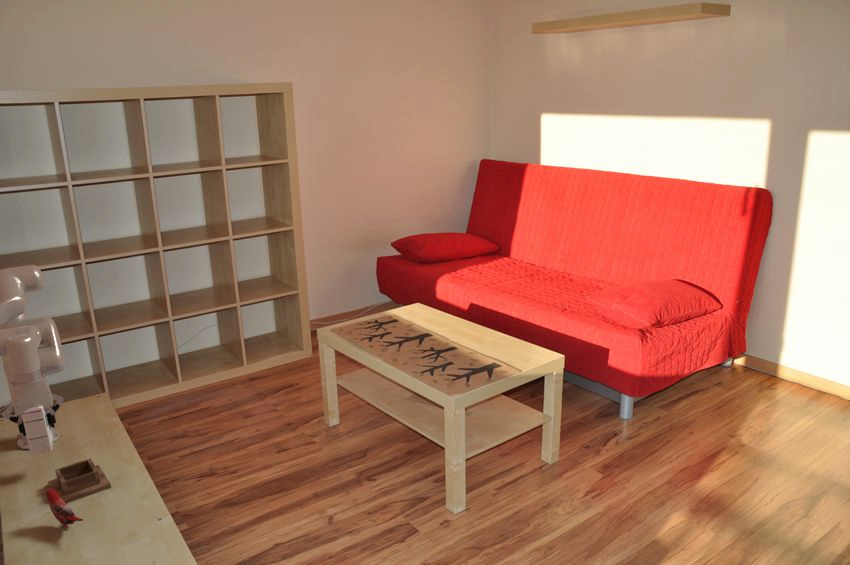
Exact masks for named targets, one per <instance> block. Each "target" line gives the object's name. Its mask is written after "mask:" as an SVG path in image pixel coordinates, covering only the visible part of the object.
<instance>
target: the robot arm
mask: <svg viewBox="0 0 850 565" xmlns="http://www.w3.org/2000/svg"><path fill="white" fill-rule="evenodd" d="M44 286H45V279H44V275H43V272H42V270H41V269H40V267H39V266H37V265H35V264H29V265H27V264H26V265H22V266H14V267H8V268H7V267H6V268H3V269H0V357H4V356H5V357H4V360H3V361H2V369H3V371H4V374H5V376H6V379H7V381H8V384H9V393H10V400H11V404H10V405H9V406H8V407H7V408H5V410H4V411H3V413H2V417H3V418H5V419H7V420H9V421H10V422H12V423H15V424H16V425H17V427H18V430H19V434H20V435H21V436H20V437H19V439H18V440H17V442H16V443H17V446H18V448H19V449H23V450H30V448H29V444H28V440H27V436H26V432H25V427H24V423H23V418H22V415H23V413H24V412H25V411H27V410H28V409H32V408H35V407H40V406H43V408H44V410H45V409H46V410H47V412H48V416H49V421H50V425H51V429H52V434H53V438H54V443H55V442H56V441H58V440H59V439H60V437H61V432H60V430H59V429H57V428H56V427H55V424H57V419H56V416H55V415H56V412H57V411H58V410H59V409H60V407H61V405H62V403H64V401H65V399H64V397H63V396H61V395H60V396H59V395H58V394H55V393H53V392H51V389H50V385H49V383H48V379H47V377H46V376H50V375H55V374H56V375H57V374H59V373H61V372H63V371H64V370H65V368H66V367H67V366H66V363H67V362H66V357H65V353H64V349H63V345H62V341H61V337H60V333H59V330H58V327H57V325H56V322H55V320H54V319H52V317H49V316H41V317H36V318H35V317H34V318H29V315H28V310H27V309H28V301H27V300H28V299H27V297H26V294H25V293H30V292H31V293H32V292H38V291H41V290H43V288H44ZM54 401H56V402H55V403H54ZM12 412H14V414H15V415H13V414H11V413H12Z"/></svg>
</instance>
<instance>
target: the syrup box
mask: <svg viewBox="0 0 850 565" xmlns="http://www.w3.org/2000/svg"><path fill="white" fill-rule="evenodd" d="M22 418H23V423H24V427H25V432H26V436H27V440H28V444H29V448H30V449H29V452H30V454H31V455H34V454H35V455H36V454H41V453H46V452H51V451H53V448H54V443H55V442H54V438H53V434H52V429H51V425H50V421H49V416H48V412H47V410H46V409H45V410H44V408H43V406H40V407H35V408H32V409H28V410H27V411H25V412H24V413H23V415H22Z"/></svg>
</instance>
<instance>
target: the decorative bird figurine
mask: <svg viewBox="0 0 850 565" xmlns="http://www.w3.org/2000/svg"><path fill="white" fill-rule="evenodd" d="M45 494H46V499H47V503H48V506H49V508H50V510H51V512H52V514H53V516H54V518H56V520H57V521H59V523H60V524H61V526H62V527H63V528H66V529H69V530H71V529H70V527H69V526H68V525H73V524H75V522H83V521H84V519H83V518H81V517H78V516H77V515H76V514H75V513H74V511H73V510H72V509H71V507H70V506H69V505H68V503H65V502H64V501H63V500H62V499H61V498H60V497H59V495H58V494H57V493H56V492H55V491H54V490H53V489H50V488H48V489H47V490H46V492H45Z"/></svg>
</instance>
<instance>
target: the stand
mask: <svg viewBox="0 0 850 565" xmlns="http://www.w3.org/2000/svg"><path fill="white" fill-rule="evenodd" d="M54 472H55V476H56V478H55V479H51V480H48V481H47V483H48V487H49V489H53V490H54V491H55V492H56V493H57V494H58V495H59V497H60V498H61V499H62V500H63V501H64V502H65V503H66V504H68V502H69V503H71V502H74V501H76V500H77V501H78V500H80V499H83V498H85V497H89V496H91V495H94V494H97V493H100V492H103V491H105V490H108V489H111V488H112V483H111V482H110V481H109V479H108V478H107V475H105V473H104V471H103V470H102V468H101V466H100V464H97V465H95V463H94V461H93V460H92V458H87V459H85V460H81V461H78V462H76V463H72V464H69V465H66V466H63V467H60V468H57V469H55V470H54Z"/></svg>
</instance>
